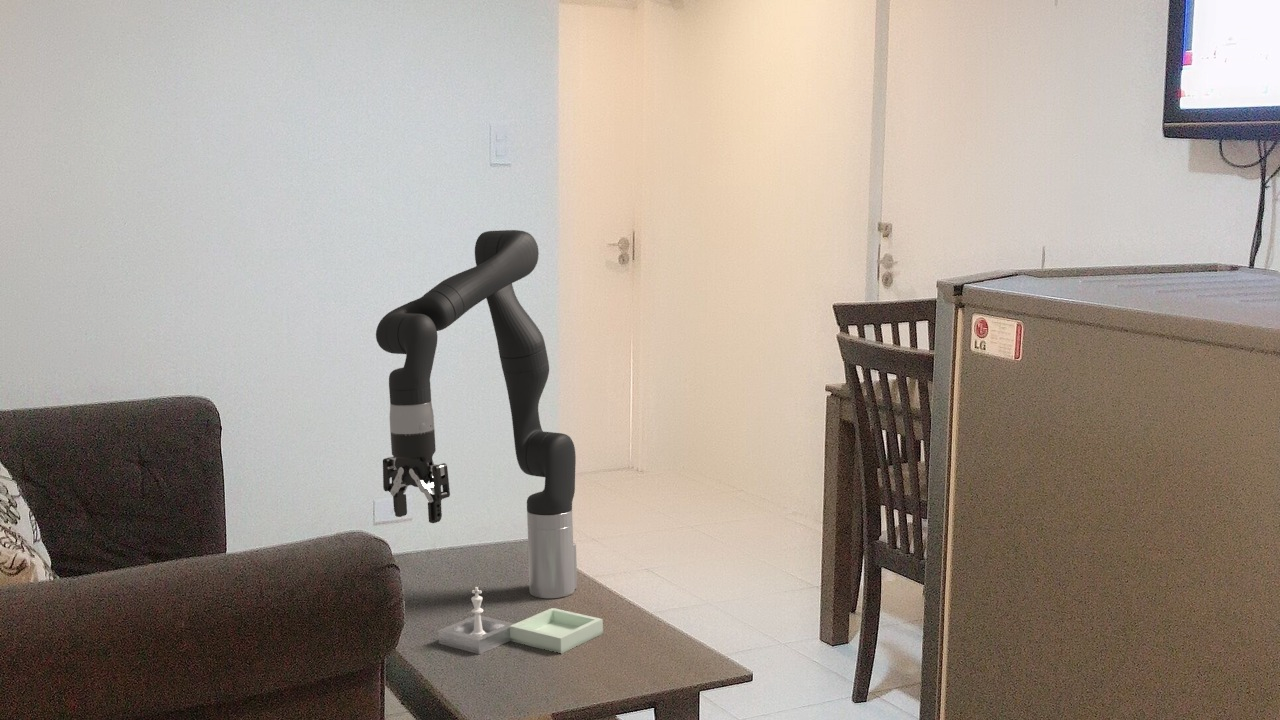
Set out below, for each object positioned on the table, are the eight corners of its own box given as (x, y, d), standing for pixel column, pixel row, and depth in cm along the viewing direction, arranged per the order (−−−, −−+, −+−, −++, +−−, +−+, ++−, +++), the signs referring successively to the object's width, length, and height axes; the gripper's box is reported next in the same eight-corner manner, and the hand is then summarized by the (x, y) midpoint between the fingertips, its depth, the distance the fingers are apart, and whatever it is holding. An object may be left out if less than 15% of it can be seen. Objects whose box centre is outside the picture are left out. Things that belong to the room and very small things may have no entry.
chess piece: (487, 646, 207) (485, 592, 206) (460, 644, 208) (458, 590, 207) (495, 636, 212) (493, 583, 211) (470, 635, 213) (468, 582, 212)
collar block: (477, 627, 217) (477, 614, 217) (517, 637, 211) (517, 624, 211) (439, 643, 209) (438, 630, 208) (479, 654, 203) (478, 640, 203)
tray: (552, 622, 219) (552, 607, 219) (603, 633, 212) (602, 619, 212) (510, 640, 209) (509, 625, 209) (561, 653, 202) (560, 638, 202)
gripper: (457, 427, 199) (462, 519, 201) (400, 421, 207) (406, 509, 209) (424, 435, 193) (430, 529, 195) (368, 428, 201) (374, 518, 203)
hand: (417, 519), depth 202 cm, fingers open, 8 cm apart
